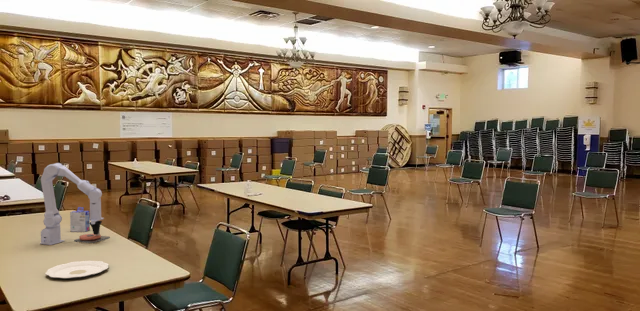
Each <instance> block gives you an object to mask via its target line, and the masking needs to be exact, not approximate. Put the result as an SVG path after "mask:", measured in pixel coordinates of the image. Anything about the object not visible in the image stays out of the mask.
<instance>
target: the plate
mask: <svg viewBox="0 0 640 311" xmlns="http://www.w3.org/2000/svg"><path fill="white" fill-rule="evenodd" d="M109 266H110V264H109V263H107V262H104V261H102V260H82V261H81V260H80V261H70V262H67V263H62V264H58V265H55V266H52V267H50V268H48V269H46V272H45V273H44V274H45V276H47V277H49V278H51V279H60V280H77V279H85V278H88V277H89V278H90V277H92V276H95V275H98V274H100V273H102V272H104V271H107V270H108V269H109ZM75 271H85V272H82V273H77V274H72V272H75Z"/></svg>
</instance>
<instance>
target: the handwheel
mask: <svg viewBox="0 0 640 311" xmlns="http://www.w3.org/2000/svg"><path fill="white" fill-rule="evenodd" d="M100 230H101V228H100V229H99V233H98V235H94V233H87V234H81V235H80V236H78V239H80V240H94V239H98V238H101V236H102V234H101V231H100Z"/></svg>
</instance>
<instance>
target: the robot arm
mask: <svg viewBox="0 0 640 311" xmlns="http://www.w3.org/2000/svg"><path fill="white" fill-rule="evenodd" d="M57 176H58V177H66V179H67V180H69V181H71V182H72V183H74V184H75V185H76V186H77V189H79V190H80V191H81V192H82V193H84V194H85V195H86V196H88V197H87V198H88V199H89V213H90V226H91V227H90V228H91V230H92V234H94V235H98V233H99V229H100V230H101V225H102V223H103V221H102V220H104V219H105V217H102V199H101V198H102V196H103V193H102V192H103V191H102V190H101V189H100V188H98V187H96V186H94V185H92V184H91V182H90V181H89V180H85V179H82V178H81V179H80V177H79V176H77V175H76V174H74V172H73V171H71V170H70V169H69V168H67V166H66V165H63V164H62V163H60V162H55V163H51V164H48V165H47V166H46V167H44V168H43V173H42V174H41V176H40V183H41V188H42V189H41V190H42V196H43V202H44V207H45V211H44V219H43V226H44V228H43V229H41V231H40V243H39V244H40V245H45V246H46V245H48V246H52V245H56V244H59V243H63V242H65V241H66V240H64V239H61V238H62V235H61V234H62V233H61V223H62V220H63V217H62V215H61V214H60V211H59V209H57V203H56V202H57V201H56V197H55V190H54V186H53V185H54V184H53V181H54V179H55V178H56V177H57Z"/></svg>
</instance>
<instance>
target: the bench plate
mask: <svg viewBox="0 0 640 311" xmlns="http://www.w3.org/2000/svg"><path fill="white" fill-rule="evenodd" d="M110 238H111V237H110V236H107V235H101V238H98V239H94V240H80V239H79V238H76V239H74V240H73V241H74V242H78V243H88V244H95V243H98V242H100V241H102V242H103V241H105V240H107V239H110Z"/></svg>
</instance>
